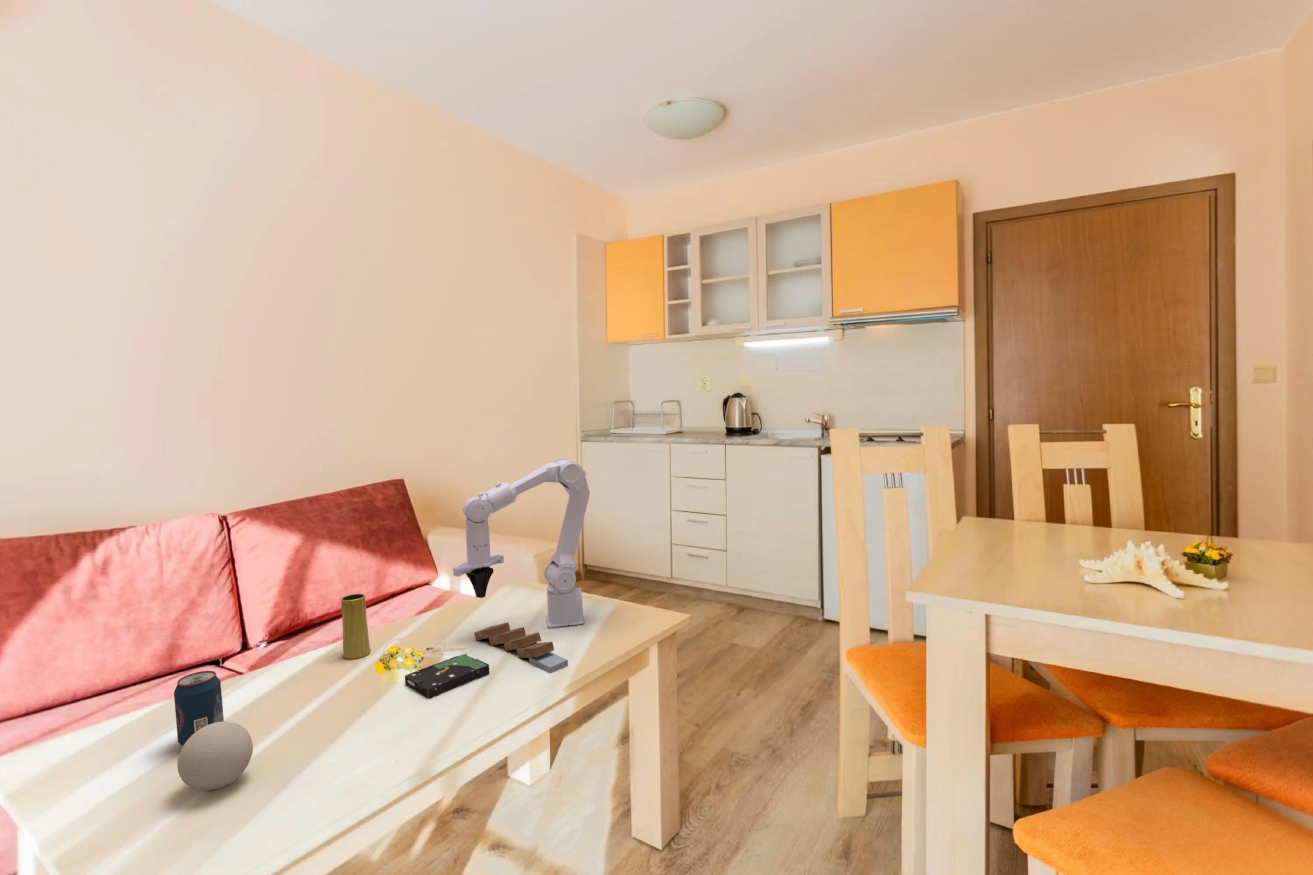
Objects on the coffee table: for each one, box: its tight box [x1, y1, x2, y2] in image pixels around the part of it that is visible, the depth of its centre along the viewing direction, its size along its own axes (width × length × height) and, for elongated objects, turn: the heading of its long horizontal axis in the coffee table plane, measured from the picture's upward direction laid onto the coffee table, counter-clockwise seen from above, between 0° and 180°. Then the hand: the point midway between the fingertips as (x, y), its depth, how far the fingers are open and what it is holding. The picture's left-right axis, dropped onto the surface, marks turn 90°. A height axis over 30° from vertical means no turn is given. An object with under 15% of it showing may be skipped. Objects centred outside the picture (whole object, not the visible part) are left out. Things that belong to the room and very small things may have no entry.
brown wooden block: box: [503, 631, 542, 652], centre depth 152 cm, size 2×5×8 cm
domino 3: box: [515, 641, 555, 659], centre depth 148 cm, size 2×5×8 cm
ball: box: [177, 721, 254, 792], centre depth 102 cm, size 10×10×10 cm
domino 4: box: [528, 651, 569, 674], centre depth 145 cm, size 2×5×8 cm
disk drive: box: [404, 653, 490, 700], centre depth 138 cm, size 10×3×15 cm
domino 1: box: [488, 626, 527, 646], centre depth 156 cm, size 2×5×8 cm
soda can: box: [173, 670, 225, 747], centre depth 115 cm, size 7×7×12 cm
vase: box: [340, 593, 372, 660], centre depth 153 cm, size 6×6×14 cm
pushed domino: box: [473, 622, 511, 641], centre depth 159 cm, size 2×5×8 cm
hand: (480, 596), depth 162 cm, fingers closed
